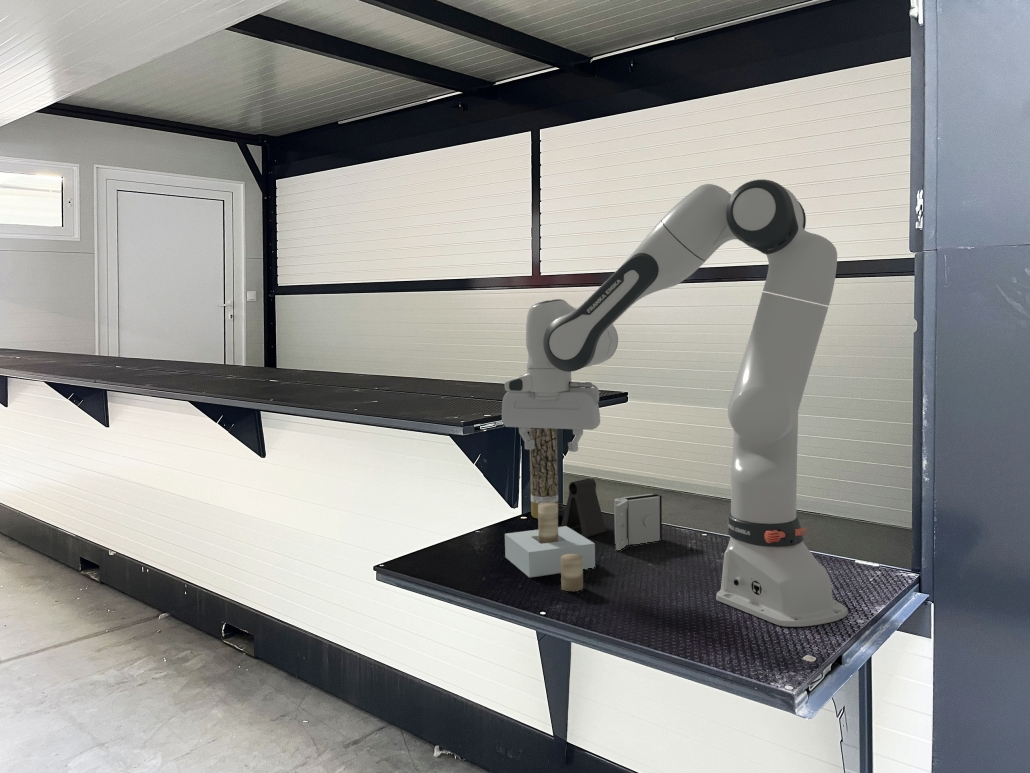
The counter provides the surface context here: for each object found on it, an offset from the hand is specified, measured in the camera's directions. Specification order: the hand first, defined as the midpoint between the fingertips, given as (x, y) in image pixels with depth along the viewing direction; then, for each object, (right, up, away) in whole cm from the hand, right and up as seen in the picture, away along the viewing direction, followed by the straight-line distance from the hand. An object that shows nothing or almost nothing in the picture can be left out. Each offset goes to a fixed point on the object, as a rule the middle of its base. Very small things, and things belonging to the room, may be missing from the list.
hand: (551, 450), depth 161 cm
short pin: (+3, -25, -13) cm, 28 cm away
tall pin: (0, -23, +2) cm, 23 cm away
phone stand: (+9, -21, +25) cm, 33 cm away
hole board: (0, -23, +2) cm, 23 cm away
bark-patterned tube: (0, -20, +38) cm, 43 cm away
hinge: (+19, -22, +13) cm, 32 cm away
